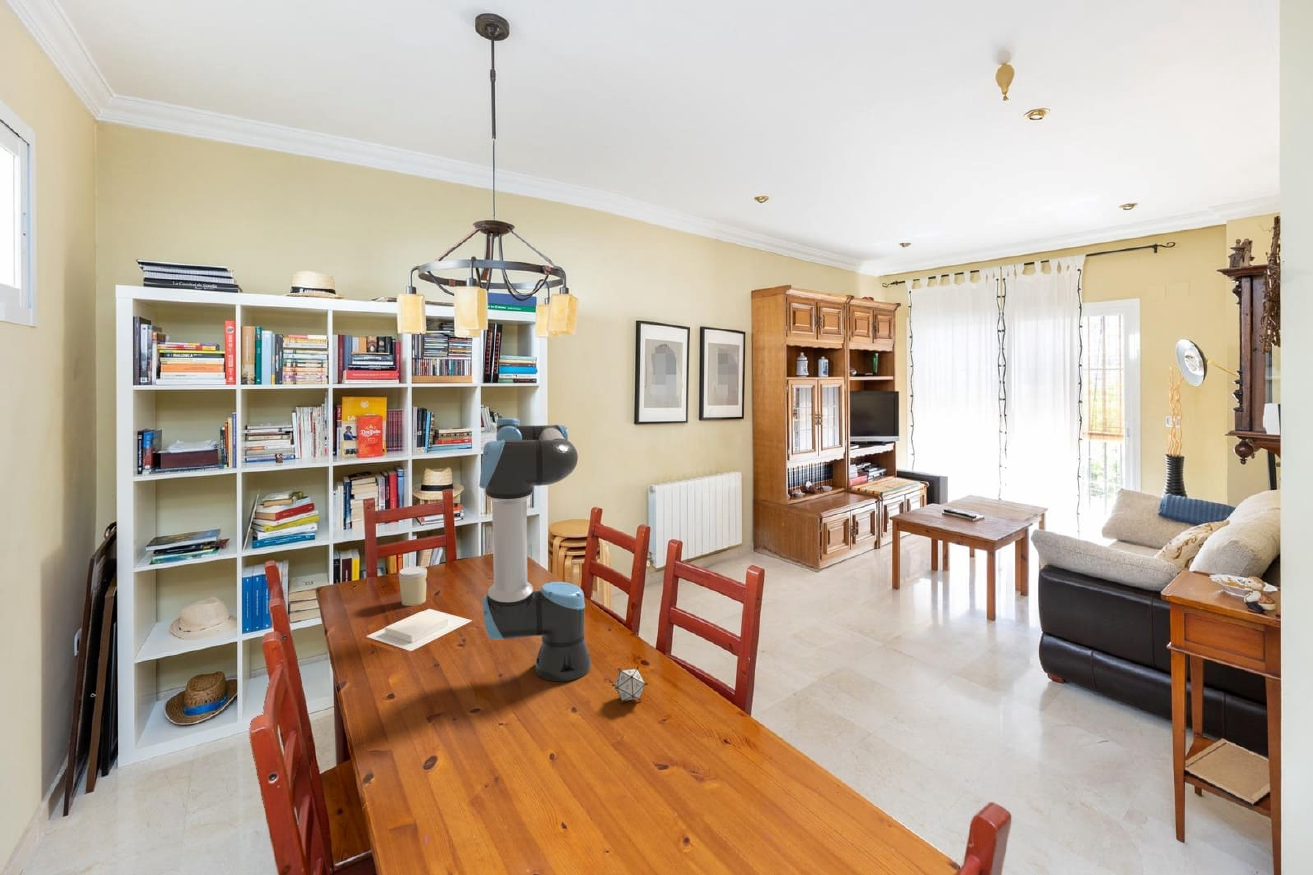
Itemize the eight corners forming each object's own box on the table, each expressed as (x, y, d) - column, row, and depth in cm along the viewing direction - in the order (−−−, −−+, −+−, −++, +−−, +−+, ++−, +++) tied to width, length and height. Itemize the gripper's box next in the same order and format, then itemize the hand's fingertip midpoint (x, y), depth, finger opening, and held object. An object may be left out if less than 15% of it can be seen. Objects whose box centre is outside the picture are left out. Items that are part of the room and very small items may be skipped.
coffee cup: (433, 601, 203) (432, 569, 202) (410, 610, 196) (409, 576, 194) (417, 596, 208) (416, 564, 207) (393, 604, 201) (392, 571, 199)
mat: (472, 622, 187) (472, 620, 187) (411, 653, 165) (411, 651, 165) (429, 610, 196) (429, 608, 196) (365, 638, 174) (365, 636, 174)
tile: (448, 618, 182) (411, 635, 170) (448, 625, 183) (412, 642, 170) (422, 611, 188) (384, 627, 176) (422, 617, 188) (385, 634, 176)
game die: (621, 714, 142) (598, 680, 143) (644, 691, 148) (622, 658, 149) (637, 713, 135) (613, 677, 136) (661, 688, 141) (637, 654, 142)
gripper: (531, 464, 191) (532, 533, 192) (501, 461, 196) (502, 529, 198) (516, 466, 184) (517, 538, 186) (486, 464, 190) (487, 533, 192)
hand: (509, 533), depth 192 cm, fingers closed
